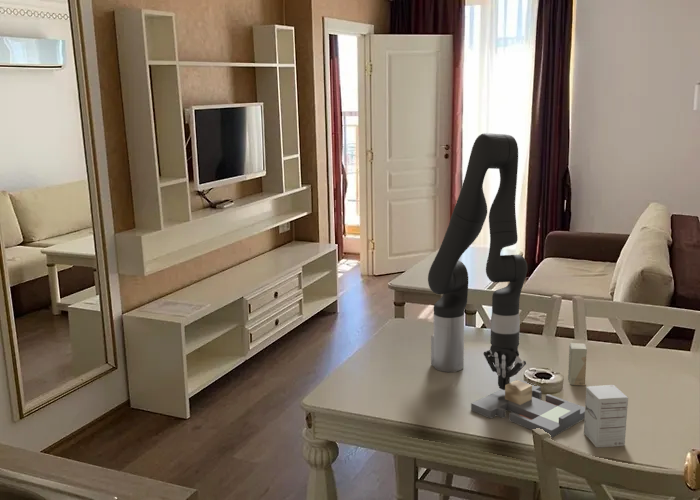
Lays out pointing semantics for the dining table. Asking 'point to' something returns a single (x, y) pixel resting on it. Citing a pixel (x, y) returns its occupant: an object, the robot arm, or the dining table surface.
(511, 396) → the block
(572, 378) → the box
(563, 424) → the track
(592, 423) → the supplement box
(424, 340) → the dining table surface
